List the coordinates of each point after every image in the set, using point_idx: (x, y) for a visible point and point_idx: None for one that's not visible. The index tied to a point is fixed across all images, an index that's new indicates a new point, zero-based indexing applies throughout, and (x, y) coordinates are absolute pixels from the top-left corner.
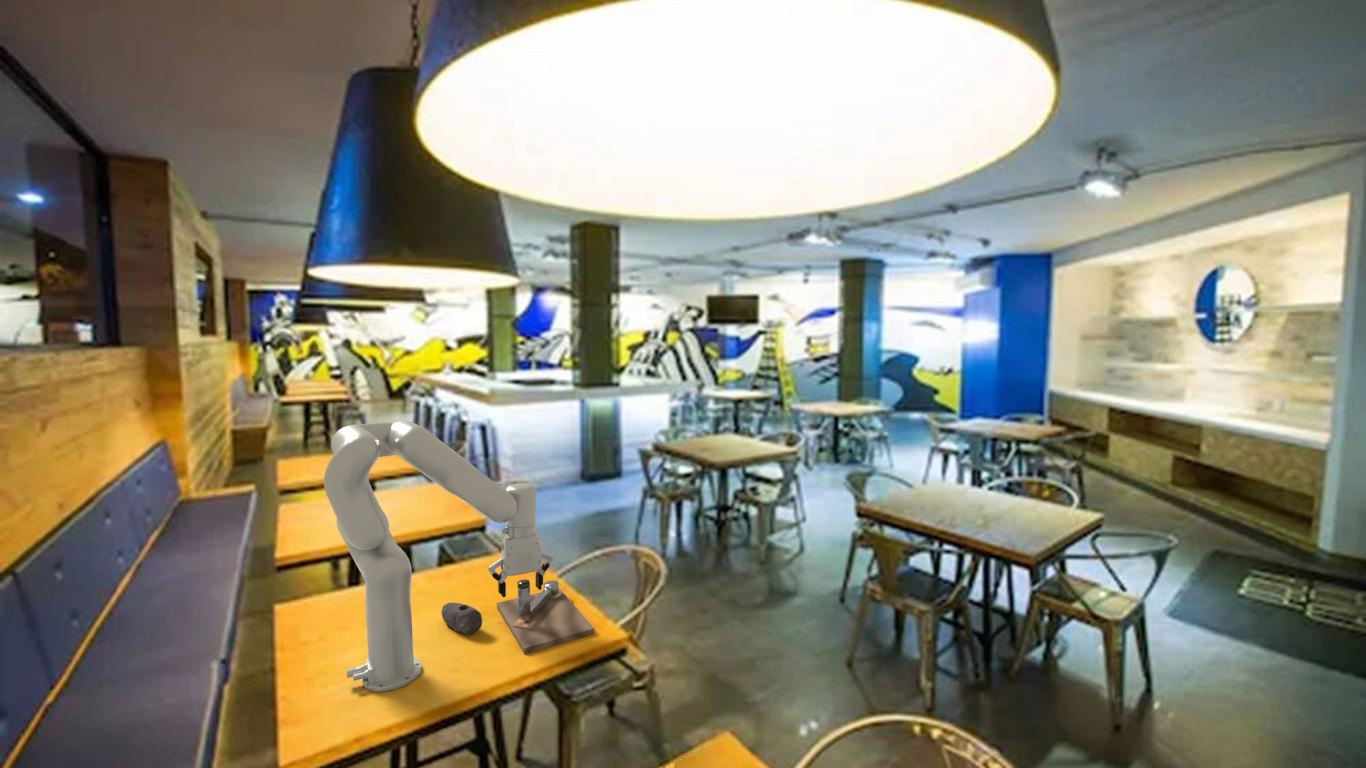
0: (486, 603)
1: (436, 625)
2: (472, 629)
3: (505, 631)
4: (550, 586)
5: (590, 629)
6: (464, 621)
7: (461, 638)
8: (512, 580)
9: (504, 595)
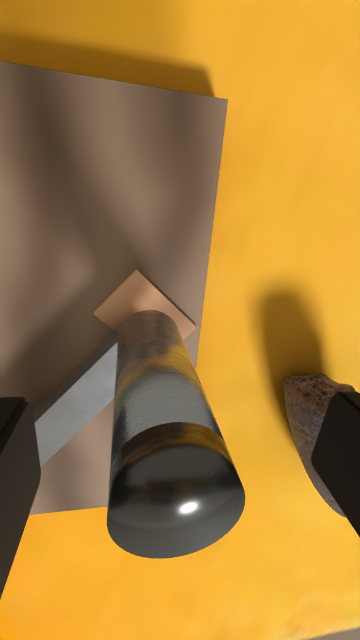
0: None
1: None
2: (312, 377)
3: (208, 337)
4: None
5: None
6: None
7: (332, 364)
8: (80, 600)
9: (357, 397)
